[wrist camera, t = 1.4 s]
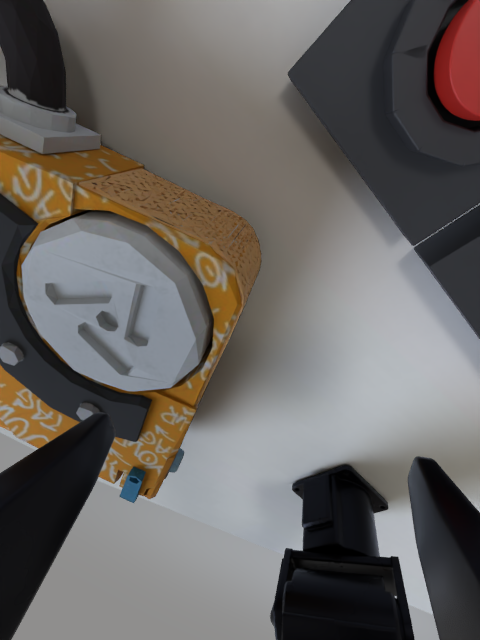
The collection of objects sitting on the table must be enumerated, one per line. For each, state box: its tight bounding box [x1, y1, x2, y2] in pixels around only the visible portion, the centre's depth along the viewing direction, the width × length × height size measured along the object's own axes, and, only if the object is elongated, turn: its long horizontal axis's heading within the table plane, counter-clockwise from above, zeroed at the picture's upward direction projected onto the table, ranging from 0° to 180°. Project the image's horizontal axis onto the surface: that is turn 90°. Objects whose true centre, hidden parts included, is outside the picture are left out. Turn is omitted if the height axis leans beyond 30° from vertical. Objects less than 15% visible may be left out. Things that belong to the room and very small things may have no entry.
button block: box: [288, 0, 480, 246], centre depth 13 cm, size 10×11×4 cm
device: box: [0, 0, 261, 503], centre depth 20 cm, size 23×8×30 cm
